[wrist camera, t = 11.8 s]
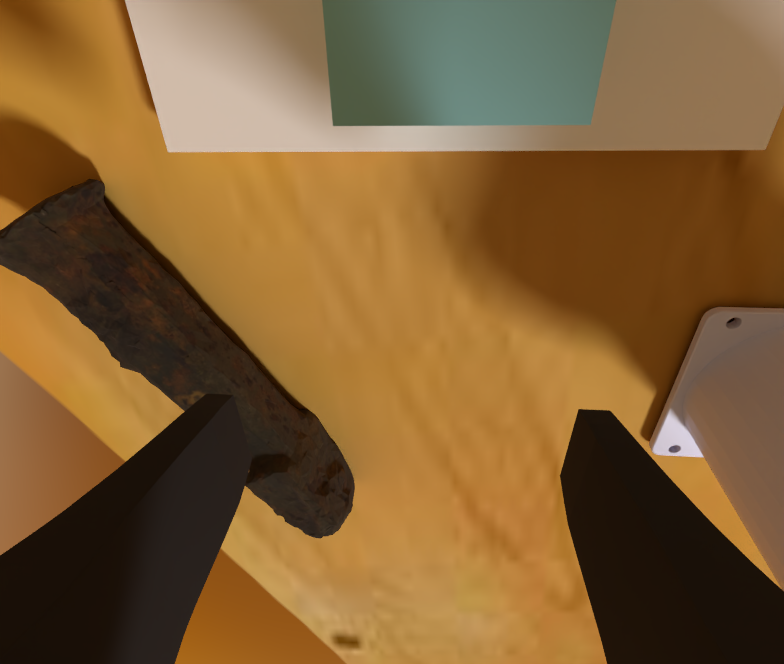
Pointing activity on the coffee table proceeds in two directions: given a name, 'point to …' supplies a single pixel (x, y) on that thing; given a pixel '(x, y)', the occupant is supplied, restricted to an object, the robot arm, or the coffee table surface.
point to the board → (317, 134)
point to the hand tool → (177, 348)
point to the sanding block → (465, 61)
